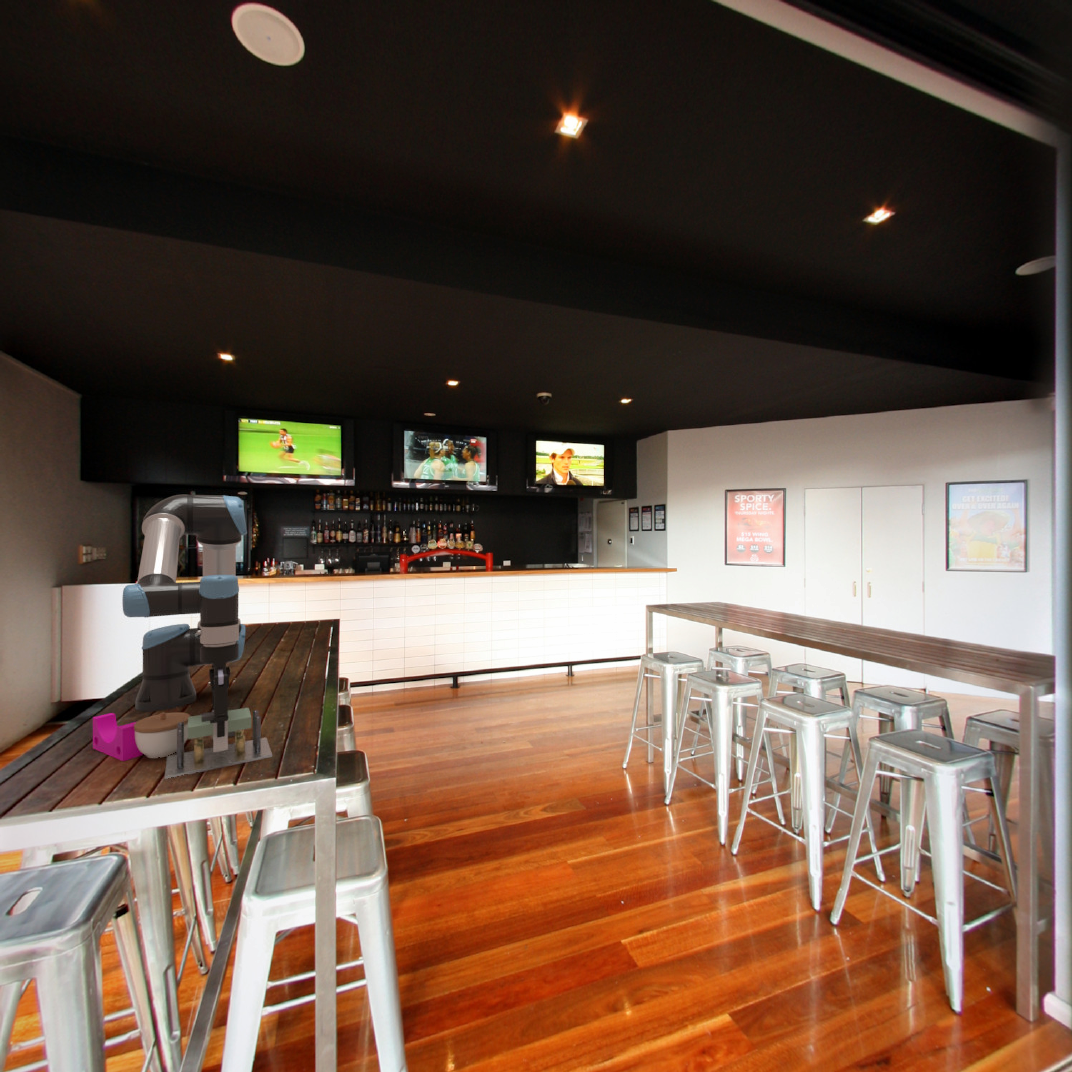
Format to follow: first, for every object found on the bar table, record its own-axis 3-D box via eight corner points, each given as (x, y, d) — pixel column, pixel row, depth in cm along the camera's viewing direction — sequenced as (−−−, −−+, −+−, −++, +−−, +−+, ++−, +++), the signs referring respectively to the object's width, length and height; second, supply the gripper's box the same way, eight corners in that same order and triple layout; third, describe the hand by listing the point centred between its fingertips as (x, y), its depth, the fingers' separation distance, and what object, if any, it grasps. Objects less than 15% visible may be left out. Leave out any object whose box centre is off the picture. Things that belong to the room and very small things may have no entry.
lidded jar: (201, 747, 126) (201, 708, 126) (156, 766, 116) (156, 723, 116) (168, 741, 129) (168, 703, 129) (122, 759, 119) (122, 717, 119)
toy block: (154, 752, 123) (154, 720, 123) (122, 762, 118) (122, 728, 118) (123, 739, 131) (123, 709, 131) (92, 748, 125) (92, 717, 125)
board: (188, 728, 119) (188, 712, 119) (248, 717, 126) (248, 703, 126) (187, 739, 113) (187, 723, 113) (251, 728, 119) (251, 712, 119)
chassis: (167, 760, 119) (167, 720, 119) (266, 741, 130) (266, 704, 130) (164, 781, 109) (164, 737, 109) (272, 758, 120) (272, 719, 120)
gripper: (199, 637, 126) (199, 733, 126) (200, 654, 108) (200, 764, 108) (235, 634, 130) (235, 726, 130) (241, 649, 112) (242, 756, 112)
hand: (219, 743), depth 119 cm, fingers closed on board, 8 cm apart
